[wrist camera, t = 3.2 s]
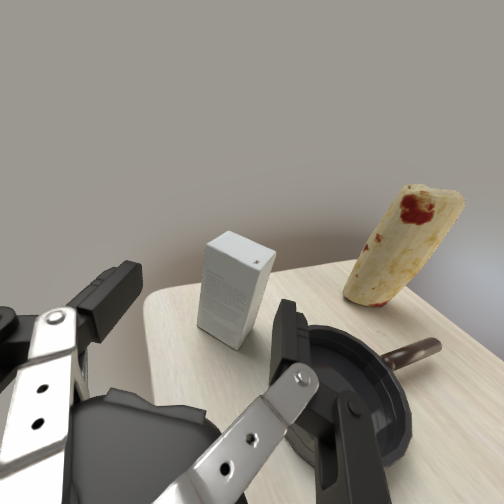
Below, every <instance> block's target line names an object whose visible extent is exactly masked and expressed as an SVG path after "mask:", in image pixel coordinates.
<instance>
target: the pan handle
mask: <svg viewBox="0 0 504 504" xmlns="http://www.w3.org/2000/svg"><path fill="white" fill-rule="evenodd" d="M441 349H442V344H441V342H440V341H439V340H437V339H436V338H427V339H424V340H421V341H418V342H416V343H413V344H410V345H408V346H405V347H402V348H399V349H397V350H394V351H391V352H389V353H386V354H383V355H381V356H380V357H381V359H382V361H383V362H384V364H385V365H387V366H388V367H389V368H390V369H391V370H392V372H393V371H395V370H398V369H400V368H402V367H405V366H407V365H409V364H412V363H414V362H416V361H419V360H421V359H423V358H426V357H428V356H430V355H433V354H435V353H437V352H439V351H441Z"/></svg>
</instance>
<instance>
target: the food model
mask: <svg viewBox="0 0 504 504" xmlns="http://www.w3.org/2000/svg"><path fill="white" fill-rule="evenodd" d="M464 205H465V199H464V197H463V196H462V195H461V194H460V193H459V192H458V191H452V190H444V189H433V188H429V187H427V186H425V185H424V184H416V185H414V184H407V185H405V186H404V187H403V188H402V189H401V191H400V192H399V193H398V195H397V196H396V198H395V199H394V201H393V202H392V204H391V206H390V207H389V209H388V210H387V212H386V213H385V215H384V216H383V218H382V220H381V221H380V223H379V224H378V226H377V227H376V229H375V230H374V231H373V233H372V234H371V236H370V238H369V239H368V241H367V242H366V244H365V246H364V249H363V250H362V252H361V254H360V256H359V258H358V260H357V262H356V264H355V266H354V268H353V270H352V272H351V274H350V276H349V278H348V280H347V282H346V285H345V287H344V289H343V295H344V296H345V297H346V298H347V299H349V300H350V301H352V302H355V303H357V304H361V305H364V306H368V307H382V306H384V305H385V304H386V303H387V302H388V301H390V300H391V299H392V298H393V297H394V296H395V295H396V294H397V293H398V292H399V291H400V290H401V289H402V288H403V287H404V286H405V285H406V284H407V283H408V282H409V281H410V280H411V279H412V278H413V277H414V276H415V275H416V274H417V273H418V272H419V271H420V270H421V268H422V267H423V266H424V265H425V263H426V262H427V261H428V259H429V258H430V257H431V255H432V254H433V253H434V251H435V250H436V248H437V247H438V246H439V244H440V243H441V241H442V240H443V239H444V237H445V236H446V234H447V233H448V231H449V230H450V228H451V227H452V226H453V224H454V223H455V221H456V220H457V218H458V216H459V215H460V213H461V211H462V210H463V208H464Z"/></svg>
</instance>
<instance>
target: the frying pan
mask: <svg viewBox="0 0 504 504" xmlns="http://www.w3.org/2000/svg"><path fill="white" fill-rule="evenodd" d="M308 333H309V342H310V352H311V362H312V368H313V370H314V372H315V373H316V375H317V377H318V379H319V380H320V381H321V382H322V383H323V384H325V385H326V386H328V387H330V388H331V389H333V390H335V391H336V392H338V393H341V392H342V391H345V390H348V391H352V392H355V393H356V394H358V395H359V396H360V397H361V398H362V399H363V400H364V401H365V402H366V403H367V405H368V407H369V409H370V412H371V415H372V420H373V424H374V428H375V433H376V437H377V441H378V446H379V450H380V454H381V459H382V463H383V467H384V470H385V469H386V468H388V467H390V466H391V465H392V464H394V463H395V462H397V461H398V460H400V459H401V458H402V457H404V455H405V454H406V451H407V449H408V447H409V444H410V442H411V439H412V413H411V410H410V407H409V404H408V401H407V398H406V395H405V392H404V390H403V388H402V387H401V385H400V383H399V382H398V380H397V378H396V376H395V375H394V373H393V372H392V370H391V369H390V368H389V367H388V366H387V365H385V364H384V362H383V361H382V359H381V357H380V356H379V355H378V354H377V353H376V352H374V351H373V350H372V349H371V348H370V347H368V346H367V345H366V344H365V343H364V342H362V341H361V340H359V339H357V338H356V337H354V336H352V335H350V334H349V333H347V332H345V331H342V330H339V329H336V328H333V327H330V326H323V325H309V326H308ZM269 379H270V378H269ZM270 387H271V386H269V388H270ZM285 437H286V439H287V440H288V442H289V443H290V444H291V446H292V447H293V448H294V449H295V451H296V452H297V453H298V454H299V455H300V456H301V457H302V458H303V459H304V460H306V461H307V462H308V463H309V464H310V465H312V466H313V467H314V468H315V455H314V436H313V435H311V434H310V433H308V432H307V431H305V430H304V429H302V428H301V427H299V426H298V425H296V424H295V423H294V424H293V425H292V426H291V428H290V429H289V430H288V432H287V433H286V435H285Z"/></svg>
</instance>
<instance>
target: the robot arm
mask: <svg viewBox="0 0 504 504" xmlns="http://www.w3.org/2000/svg"><path fill="white" fill-rule="evenodd" d="M142 288H143V277H142V265H141V264H140V263H136V262H132V261H128V260H126V261H124V262H123V263H122V264H121V265H120V266H119V267H112V268H110V269H108V270H106V271H104V272H103V273H101V274H100V275H99V276H98V277H97V278H96V280H94V281H93V282H91V283H90V285H88V286H87V287H86V288H85V289H84V290H82V291H81V292H80V293H79V294H78V295H77V296H76V297H75V298H73V299H72V300H71V301H70V302H69V303H68V304H67V305H65V306H58V307H53V308H50V309H48V310H46V311H44V312H43V313H41V314H40V315H16V313H15V311H14V310H13V309H12V308H10V307H5V306H0V393H1V392H2V391H3V390H4V389H5V388H6V387H7V386H8V385H9V384H10V382H12V380H13V379H14V378H15V377H16V382H15V386H14V391H13V395H12V400H11V405H10V409H9V415H8V419H7V423H6V428H5V433H4V437H3V442H2V447H1V450H0V504H248V503H247V500H246V497H245V494H244V491H245V490H246V488H247V487H248V485H249V484H250V483H251V481H252V480H253V479H254V477H255V476H256V474H257V473H258V472H259V470H260V469H261V468H262V466H263V465H264V463H265V462H266V461H267V459H268V458H269V457H270V455H271V454H272V452H273V451H274V450H275V448H276V447H277V446H278V444H279V443H280V441H281V440H282V439H283V437H284V436H285V435H286V433H287V432H288V430H289V429H290V428H291V426H292V425H293V424H294V423H295V424H296V425H298V426H299V427H301V428H302V429H304V430H305V431H307V432H308V433H310V434H311V435H313V436H314V455H315V482H316V504H392V502H391V498H390V493H389V489H388V485H387V480H386V476H385V472H384V467H383V463H382V459H381V454H380V450H379V446H378V441H377V437H376V433H375V428H374V424H373V420H372V415H371V412H370V409H369V407H368V405H367V403H366V402H365V401H364V400H363V399H362V398H361V397H360V396H359V395H358V394H356V393H355V392H352V391H348V390H345V391H342V392H341V393H338V392H336V391H335V390H333V389H331V388H330V387H328V386H326V385H325V384H323V383H322V382H321V381H320V380H319V379H318V377H317V375H316V373H315V372H314V370H313V368H312V362H311V352H310V342H309V333H308V323H307V320H306V318H305V316H304V315H303V313H299V312H296V302H294V301H290V300H286V299H282V300H281V302H280V305H279V307H278V310H277V313H276V315H275V318H274V322H273V330H272V346H271V363H270V379H269V386H271V387H270V388H269V389H268V390H267V391H266V392H265V393H264V394H263V395H260V396H258V397H257V398H256V399H255V400H254V401H253V402H252V403H251V404H250V405H249V406H248V407H247V409H246V410H245V411H244V412H243V413H242V414H241V415H240V416H239V417H238V418H237V419H236V420H235V421H234V422H233V423H232V424H231V425H230V426H229V427H228V428H227V429H226V430H225V431H224V432H223V433H221V432H220V430H219V429H218V428H217V427H216V426H215V425H214V424H213V423H212V422H211V421H210V420H208V419H207V418H205V416H206V410H202V409H198V408H194V407H190V406H186V405H171V406H155V405H152V404H151V403H149V402H148V401H146V400H145V399H143V398H141V397H140V396H138V395H137V394H135V393H132V392H128V391H123V390H119V389H115V388H110V390H109V391H108V393H107V394H106V395H102V396H96V397H93V398H90V397H89V390H88V362H87V361H88V357H87V346H88V345H89V344H90V343H91V342H95V343H100V344H101V342H102V341H103V340H104V339H105V338H106V336H107V335H108V334H109V332H110V331H111V330H112V329H113V327H114V326H115V325H116V324H117V322H118V321H119V320H120V319H121V317H122V316H123V315H124V313H125V312H126V311H127V310H128V308H129V307H130V306H131V305H132V303H133V302H134V301H135V300H136V298H137V297H138V296H139V295H140V293H141V291H142Z"/></svg>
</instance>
